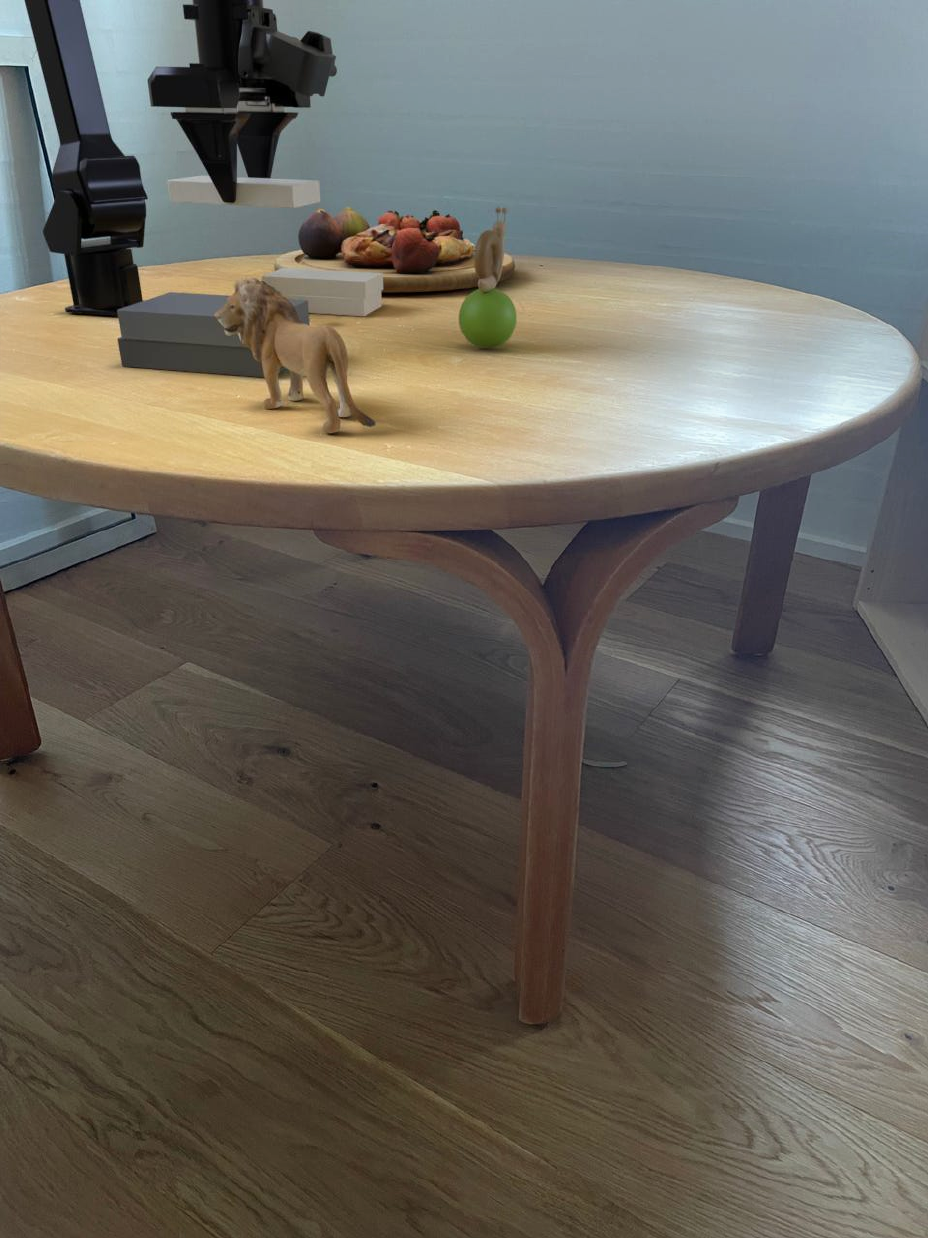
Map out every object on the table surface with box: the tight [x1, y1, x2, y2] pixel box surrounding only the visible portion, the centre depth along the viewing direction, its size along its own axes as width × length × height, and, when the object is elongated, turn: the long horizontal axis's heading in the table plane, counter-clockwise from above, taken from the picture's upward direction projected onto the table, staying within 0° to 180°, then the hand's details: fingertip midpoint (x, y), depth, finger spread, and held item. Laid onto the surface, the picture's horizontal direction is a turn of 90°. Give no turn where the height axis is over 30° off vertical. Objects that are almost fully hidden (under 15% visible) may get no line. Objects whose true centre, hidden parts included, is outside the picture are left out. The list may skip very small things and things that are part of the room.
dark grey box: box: [117, 291, 311, 379], centre depth 81 cm, size 14×9×5 cm, turn 76°
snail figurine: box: [458, 206, 518, 349], centre depth 85 cm, size 5×6×12 cm
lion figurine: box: [215, 277, 376, 434], centre depth 66 cm, size 15×5×9 cm, turn 50°
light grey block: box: [261, 268, 383, 317], centre depth 103 cm, size 12×6×4 cm, turn 76°
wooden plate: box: [273, 206, 516, 293], centre depth 122 cm, size 32×32×8 cm
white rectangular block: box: [166, 175, 321, 209], centre depth 83 cm, size 12×6×2 cm, turn 75°
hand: (245, 199), depth 84 cm, fingers closed on white rectangular block, 6 cm apart
